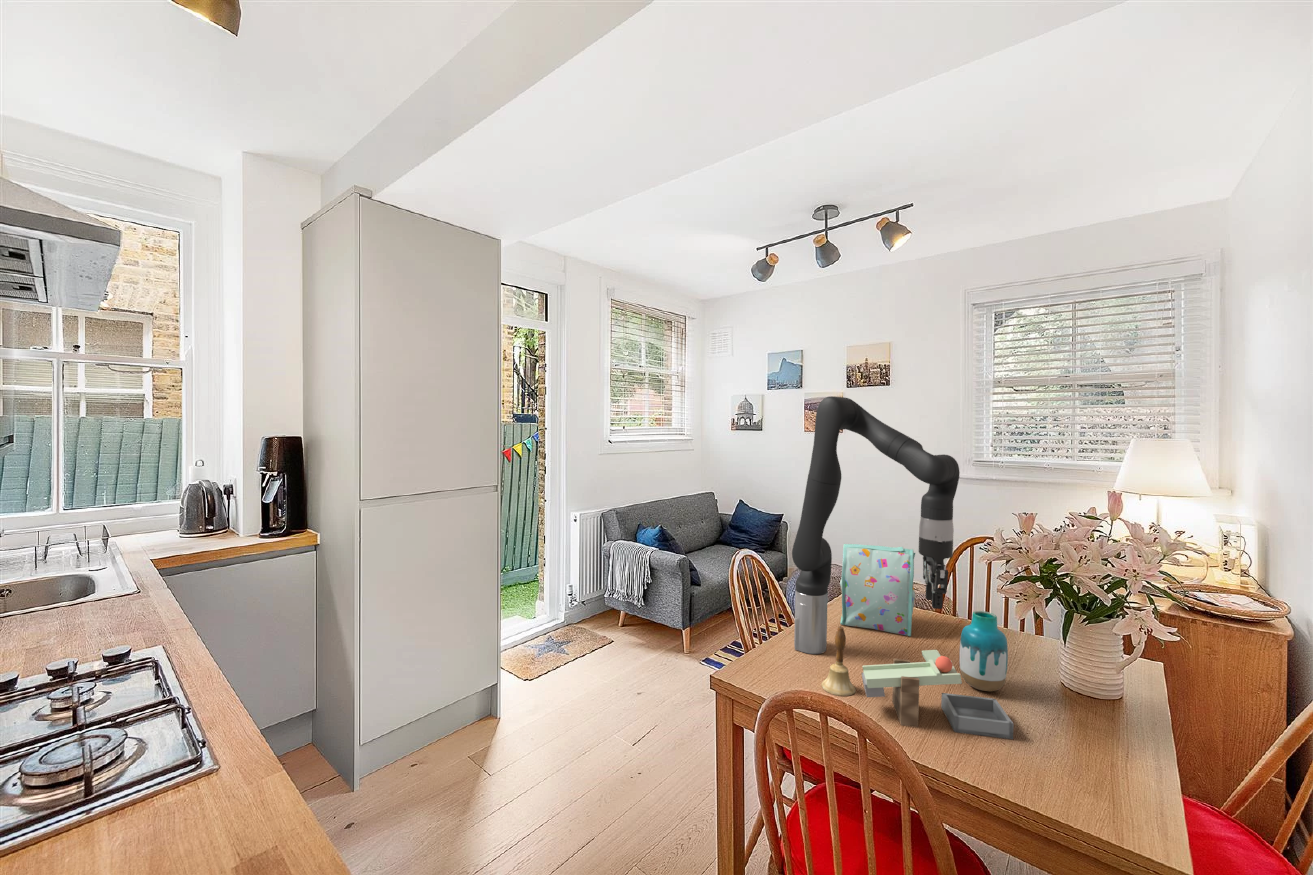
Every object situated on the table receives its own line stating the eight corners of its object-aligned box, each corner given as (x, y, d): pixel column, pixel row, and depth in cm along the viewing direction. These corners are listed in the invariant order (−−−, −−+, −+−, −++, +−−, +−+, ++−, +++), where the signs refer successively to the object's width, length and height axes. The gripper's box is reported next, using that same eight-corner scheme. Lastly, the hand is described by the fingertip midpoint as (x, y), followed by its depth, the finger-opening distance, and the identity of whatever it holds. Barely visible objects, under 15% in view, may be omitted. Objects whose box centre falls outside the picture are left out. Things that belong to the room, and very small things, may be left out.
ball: (938, 675, 126) (936, 660, 126) (934, 668, 129) (932, 653, 129) (955, 675, 125) (953, 659, 125) (950, 668, 128) (949, 653, 128)
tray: (954, 731, 122) (954, 716, 122) (941, 706, 133) (941, 692, 132) (1012, 739, 120) (1013, 723, 119) (995, 713, 130) (995, 698, 130)
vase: (990, 702, 135) (992, 625, 134) (949, 682, 144) (951, 610, 143) (1015, 692, 140) (1018, 617, 139) (974, 674, 149) (977, 604, 148)
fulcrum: (900, 724, 125) (902, 678, 124) (892, 701, 135) (893, 658, 134) (918, 727, 124) (919, 680, 123) (908, 703, 134) (909, 659, 134)
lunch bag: (913, 621, 186) (915, 542, 185) (914, 639, 171) (916, 554, 170) (842, 610, 196) (843, 535, 194) (837, 627, 181) (838, 546, 179)
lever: (867, 698, 128) (863, 677, 128) (858, 667, 143) (855, 648, 143) (963, 694, 123) (960, 672, 123) (944, 663, 138) (941, 643, 138)
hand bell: (857, 684, 143) (858, 623, 143) (853, 699, 136) (855, 635, 135) (824, 677, 147) (825, 618, 146) (819, 691, 139) (820, 629, 139)
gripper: (912, 529, 143) (910, 593, 144) (926, 542, 129) (924, 612, 130) (944, 530, 141) (942, 595, 142) (961, 543, 127) (959, 615, 128)
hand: (933, 603), depth 136 cm, fingers open, 5 cm apart
